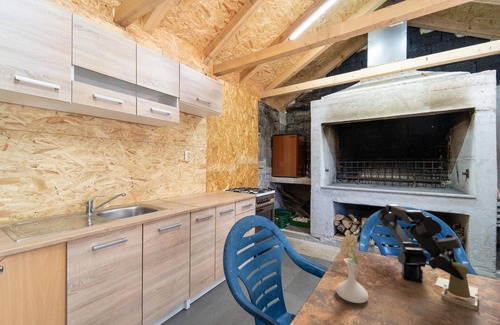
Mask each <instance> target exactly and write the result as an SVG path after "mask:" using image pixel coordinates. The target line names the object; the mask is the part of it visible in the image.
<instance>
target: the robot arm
mask: <svg viewBox="0 0 500 325" xmlns="http://www.w3.org/2000/svg"><path fill="white" fill-rule="evenodd" d="M377 218H378V220H379V222H380V223H381V224H382V225H383V226H386V227H387V228H388V229H389V230H390V232H391V234H392V235H393V237H394V239H395V240H396V242H397V243H398V246H400V253H399V254H398V255H397V261H398V262H399V264H401V272H400V274H401V276H402V277H403V279H404V281H409V282H415V283H422V284H423V282H424V281H423V279H424V275H423V273H424V272H423V269H422V267H423V268H425V267H426V264H427V261H428V266H429V267H430V268H431V269H432V270H436V269H439V270H441V271H443V272H446V273H447V274H448V275H449V274H451V275H453V276H455V277H457V278H458V279H460V280H464V277H463V276H462V275H461V273H460V272H459V271H458V270H457V269H456V267H455V266H454V265H453V262H458V263H459V261H458V259H457V258H456V251H454V250H456V249H457V250H458V249H461V247H462V244H461V242H460V240H459V238H458V236H455V235H453V234H451V233H448V234H447V233H446V235H445V237H443V238H438V237H437V236H436V235H439V234H440V233H441V232H442V231H443V230H442V229H443V228H442V225H441V224H440V223H439V222H438V221H437V220H435V219H433V218H432V216H427V215H426V214H424V212H423V211H422V210H417V209H415V210H414V209H413V210H412V209H408V208H406V207H402V206H400V205H398V204H392V203H391V204H386V205H385V207H383V208H381V209H380V210H379V212H378V214H377ZM399 218H401V220H402V221H403V222H404V223H405V224H406V225H407V226H406V227H405V232H404V230H403V229H402V227H401V225H400V224H399V223H398V220H399ZM407 235H410V236H411V237H412V238H413V239H414V241H416V243H415V242H412V241H411V240H410V238H409V236H407ZM424 250H425V251H426V252H427V253H428V254H429V257H430V258H429V260H428V256H427V254H426V253H425V252H424ZM451 251H452V252H451Z"/></svg>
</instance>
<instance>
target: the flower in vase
mask: <svg viewBox="0 0 500 325" xmlns="http://www.w3.org/2000/svg"><path fill="white" fill-rule="evenodd" d="M357 243H358V241H357V239H356V237H355V235H354V234H351V235H350V233H349V234H346V235H345V236H343V237H342V239H341V242H340V252H342V254H343V255H347V256H349V258H344V259H343V261H344V262H345V264H346V267H347V271H348V272H347V273H348V274H347V275H348V276H347V277H348V278H346V280H344V281H342V282H340V283H338V284H337V286H336V288H335V291H336V293H337V294H338V296H339V297H340V298H341V299H343V300H345V301H347V302H350V303H354V304H363V303H365V302H367V301H368V300H369V293H368V291H367V290H366V289H365V287H363V286H362V285H361V284H360V283H359V282H357V280H356V275H355V274H356V272H355V271H356V269H357V268H356V267H357V265H359V257H358V255H357V256H356V253H355V249H357V248H356V247H357ZM352 253H353V254H352Z"/></svg>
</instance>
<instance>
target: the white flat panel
mask: <svg viewBox="0 0 500 325" xmlns="http://www.w3.org/2000/svg"><path fill="white" fill-rule="evenodd" d="M449 280H450V279H447V278H444V277H440V276H438V277H437V279H436V281H435V285H434V286H436V287H438V288H442V289H443V288H444V285H446V290H448V286H449ZM468 286H469V292H470V298H474V299H475V294H477V295H479V294H478V292H479V288H478V287H474V286H471V285H468Z"/></svg>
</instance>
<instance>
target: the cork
mask: <svg viewBox="0 0 500 325" xmlns="http://www.w3.org/2000/svg"><path fill="white" fill-rule="evenodd" d="M453 265H454V266H455V267H456V269H457V270H458V271H459V272H460V273H461V275H462V276H463V277H464V280H460V279H458V278H457V277H455V276H453V275H451V274H450V275H449V279H448V280H449V286H448V289H447V291H448V292H449V293H450V294H452V295H454V296H456V297H459V298H462V299H470V298H471V297H470V292H469V286H470V285H469V283H468V282H469V281H468V277H467V275H468V274H469V268H468V266H467V265H466V264H464V263H461V262H459V261H458V262H453Z"/></svg>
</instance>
